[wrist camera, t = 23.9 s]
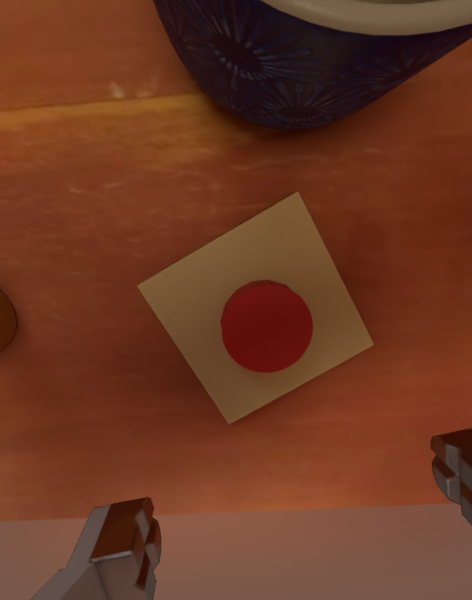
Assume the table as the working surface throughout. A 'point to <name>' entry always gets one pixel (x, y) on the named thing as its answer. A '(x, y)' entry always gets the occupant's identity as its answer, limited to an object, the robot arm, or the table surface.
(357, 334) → the cork mat
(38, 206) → the table surface
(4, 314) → the jar
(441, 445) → the robot arm
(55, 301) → the table surface
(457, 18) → the planter
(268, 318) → the red lid
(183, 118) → the table surface
